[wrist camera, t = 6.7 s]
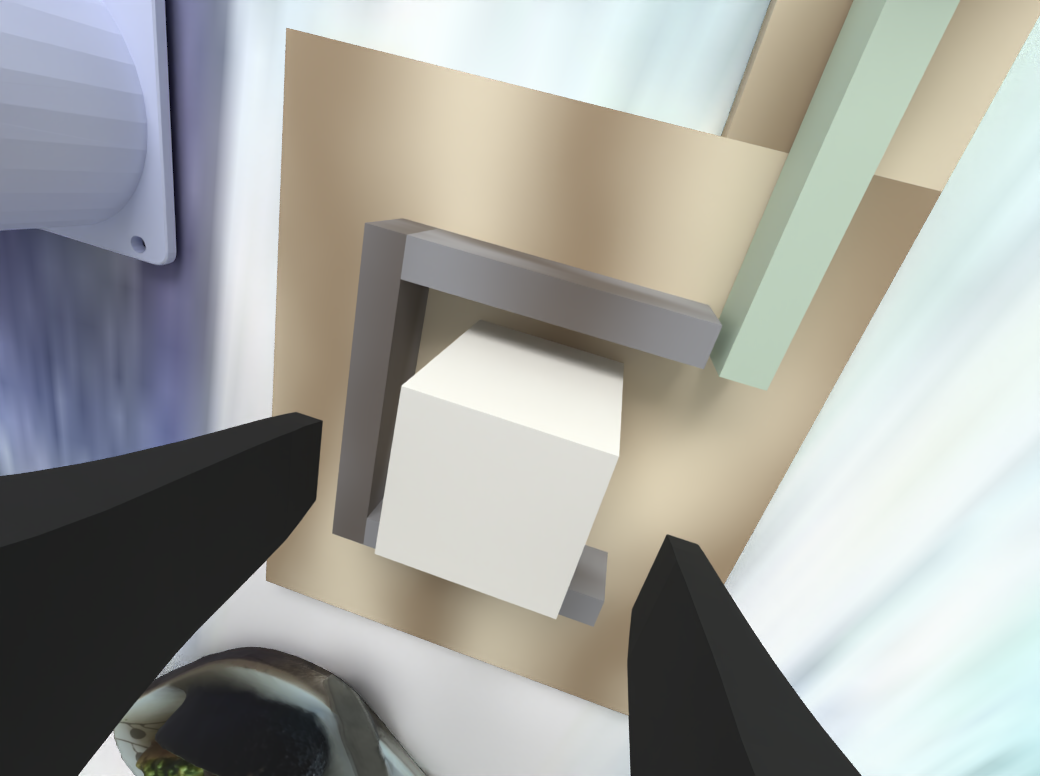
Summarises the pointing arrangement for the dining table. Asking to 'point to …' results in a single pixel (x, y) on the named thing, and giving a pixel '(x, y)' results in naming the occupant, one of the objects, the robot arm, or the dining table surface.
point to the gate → (825, 178)
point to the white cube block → (502, 464)
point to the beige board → (575, 300)
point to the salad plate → (256, 722)
